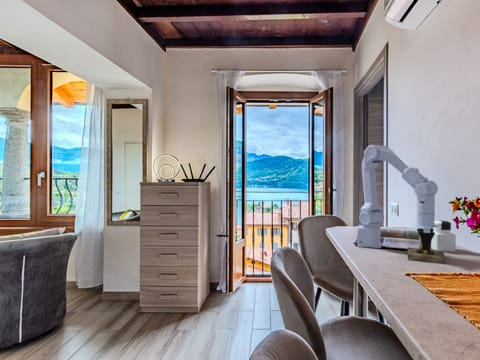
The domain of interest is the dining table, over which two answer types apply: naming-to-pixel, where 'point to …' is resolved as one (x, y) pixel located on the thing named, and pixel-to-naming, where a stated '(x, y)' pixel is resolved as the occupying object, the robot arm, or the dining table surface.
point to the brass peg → (422, 249)
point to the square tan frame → (426, 256)
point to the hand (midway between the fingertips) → (425, 248)
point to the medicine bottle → (443, 237)
